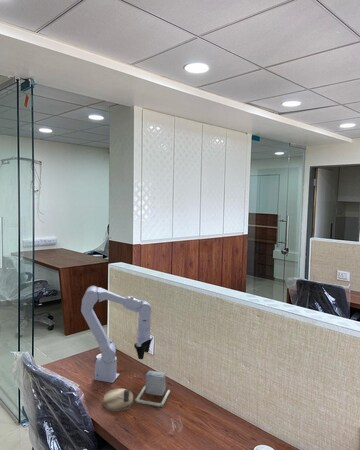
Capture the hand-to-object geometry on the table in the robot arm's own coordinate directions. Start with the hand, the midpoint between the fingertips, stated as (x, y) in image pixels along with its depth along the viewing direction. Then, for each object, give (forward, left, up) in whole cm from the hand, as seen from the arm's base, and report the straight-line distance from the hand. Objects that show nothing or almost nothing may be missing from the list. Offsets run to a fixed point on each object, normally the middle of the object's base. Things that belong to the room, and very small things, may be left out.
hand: (143, 355), depth 170 cm
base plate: (-2, -23, -10) cm, 25 cm away
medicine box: (+10, -12, -11) cm, 19 cm away
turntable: (-2, -23, -10) cm, 25 cm away
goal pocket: (+10, -15, -10) cm, 20 cm away
